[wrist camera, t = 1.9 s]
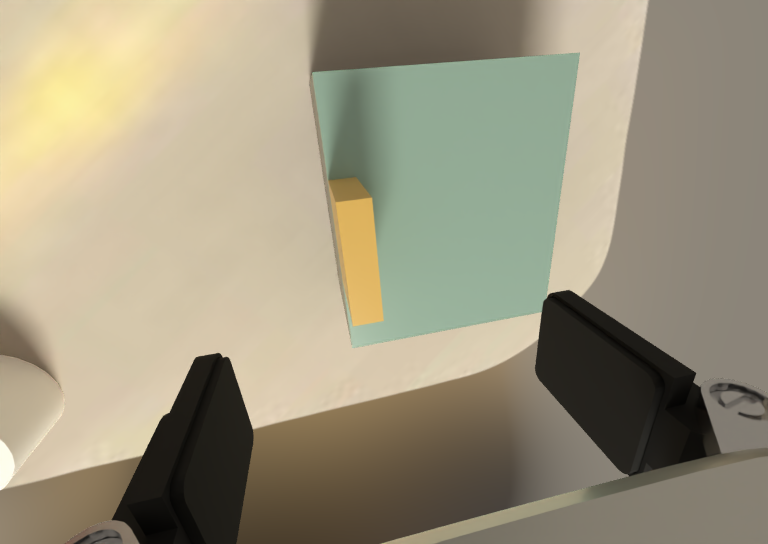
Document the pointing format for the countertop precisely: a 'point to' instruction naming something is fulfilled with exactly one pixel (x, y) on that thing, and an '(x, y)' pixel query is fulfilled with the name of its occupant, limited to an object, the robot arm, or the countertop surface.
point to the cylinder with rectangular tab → (24, 412)
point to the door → (444, 189)
